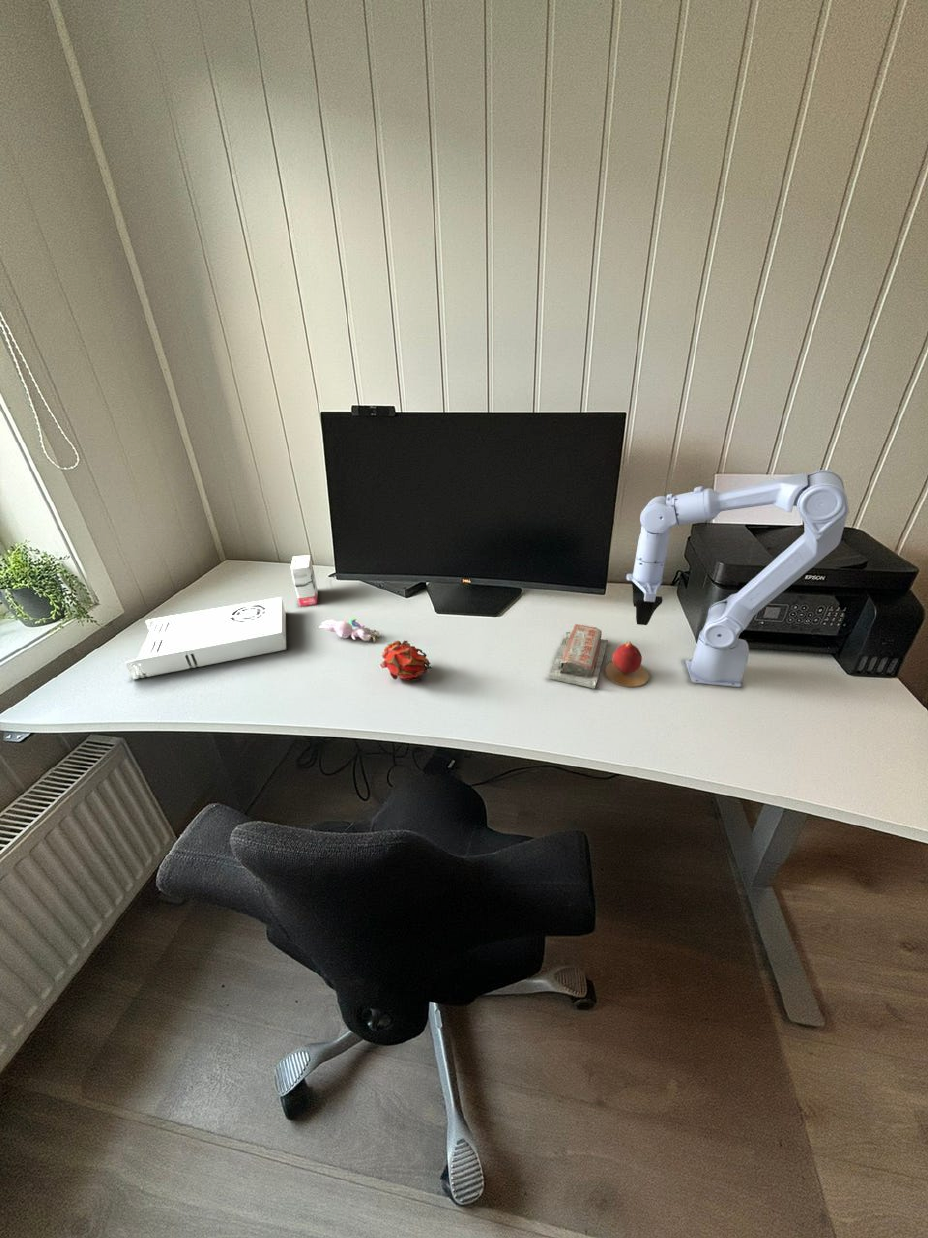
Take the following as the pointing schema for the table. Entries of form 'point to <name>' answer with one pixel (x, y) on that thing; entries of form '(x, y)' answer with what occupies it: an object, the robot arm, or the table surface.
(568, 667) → the packaged product
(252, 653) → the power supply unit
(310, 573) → the ink box
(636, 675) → the coaster
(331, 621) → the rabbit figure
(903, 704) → the table surface
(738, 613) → the robot arm
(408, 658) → the dragon fruit
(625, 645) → the onion
